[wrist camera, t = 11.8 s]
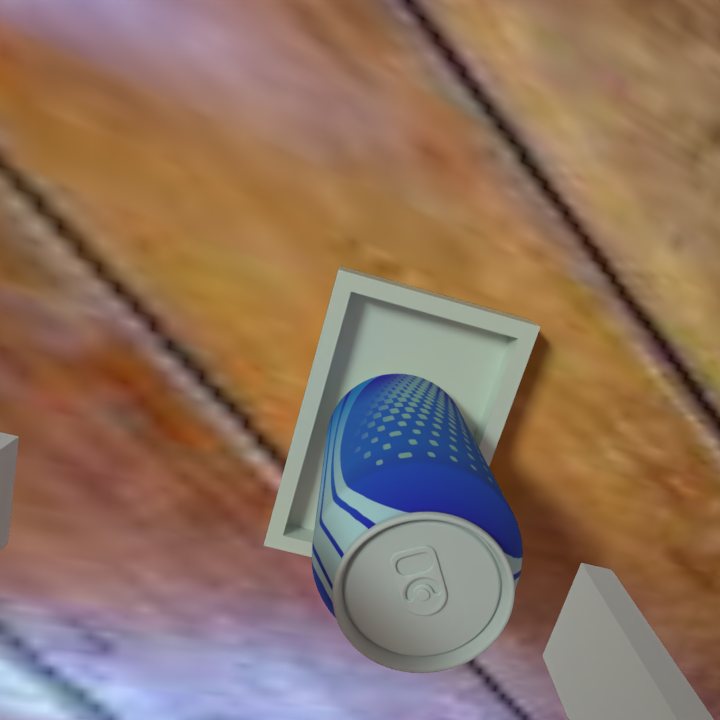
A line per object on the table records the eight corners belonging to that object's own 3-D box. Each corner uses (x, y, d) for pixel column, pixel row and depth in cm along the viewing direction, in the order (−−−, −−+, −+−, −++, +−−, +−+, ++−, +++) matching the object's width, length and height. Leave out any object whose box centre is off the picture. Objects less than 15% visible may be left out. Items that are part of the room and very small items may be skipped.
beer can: (484, 398, 36) (583, 543, 20) (426, 511, 37) (477, 722, 22) (359, 346, 35) (362, 455, 19) (307, 464, 37) (271, 650, 21)
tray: (339, 265, 34) (338, 269, 32) (528, 319, 35) (540, 326, 33) (269, 526, 38) (263, 545, 36) (439, 568, 39) (444, 589, 37)
